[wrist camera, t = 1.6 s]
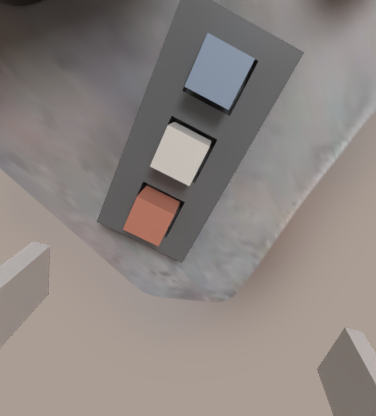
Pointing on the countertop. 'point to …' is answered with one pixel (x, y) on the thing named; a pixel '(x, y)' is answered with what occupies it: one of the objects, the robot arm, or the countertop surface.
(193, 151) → the key white
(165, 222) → the key red
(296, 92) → the countertop surface
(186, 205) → the frame
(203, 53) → the key blue
